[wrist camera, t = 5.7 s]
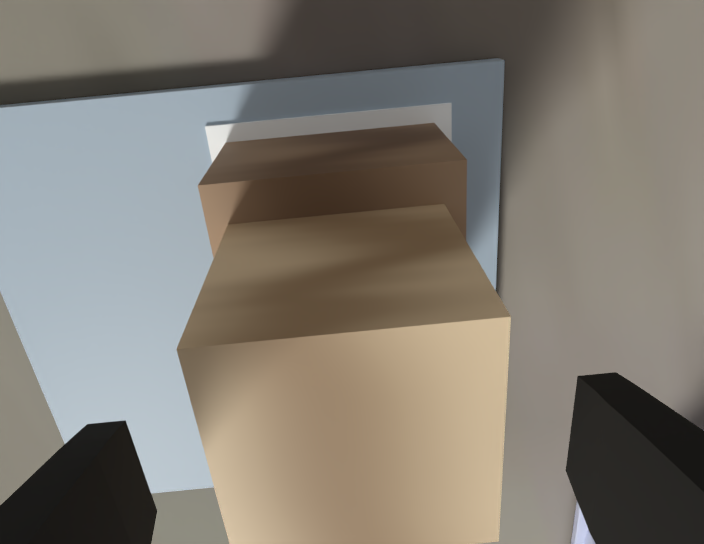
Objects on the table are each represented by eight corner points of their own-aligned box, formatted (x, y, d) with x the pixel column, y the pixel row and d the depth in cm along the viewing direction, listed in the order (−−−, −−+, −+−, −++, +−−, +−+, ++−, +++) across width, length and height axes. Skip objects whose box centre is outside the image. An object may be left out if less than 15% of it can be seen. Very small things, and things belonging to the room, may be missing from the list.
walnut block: (434, 122, 16) (467, 159, 12) (437, 303, 19) (464, 376, 15) (225, 142, 16) (197, 185, 12) (259, 320, 18) (243, 398, 15)
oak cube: (444, 203, 13) (510, 316, 8) (445, 378, 15) (498, 541, 10) (227, 224, 13) (176, 349, 8) (261, 396, 15) (236, 568, 10)
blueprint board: (498, 58, 16) (505, 60, 15) (485, 448, 23) (490, 461, 22) (-61, 110, 16) (-78, 115, 15) (94, 487, 22) (87, 501, 22)
